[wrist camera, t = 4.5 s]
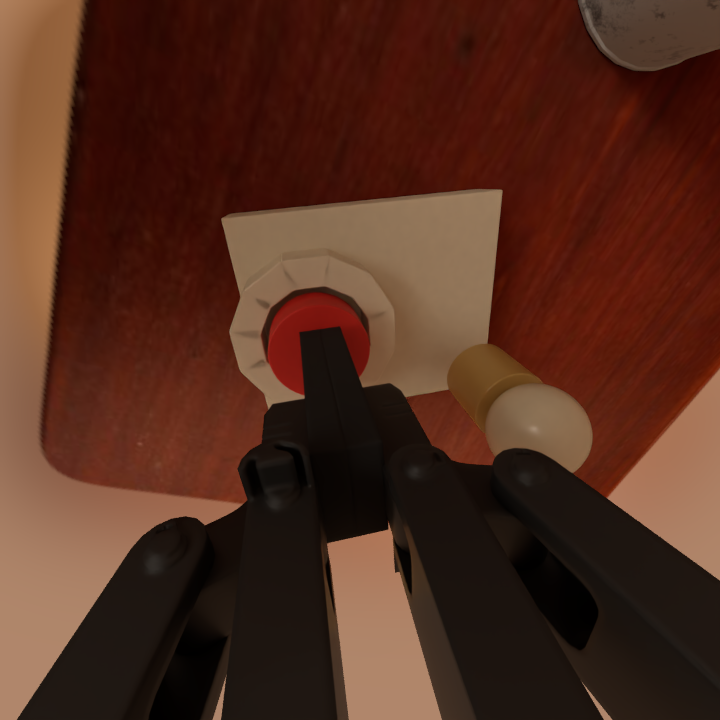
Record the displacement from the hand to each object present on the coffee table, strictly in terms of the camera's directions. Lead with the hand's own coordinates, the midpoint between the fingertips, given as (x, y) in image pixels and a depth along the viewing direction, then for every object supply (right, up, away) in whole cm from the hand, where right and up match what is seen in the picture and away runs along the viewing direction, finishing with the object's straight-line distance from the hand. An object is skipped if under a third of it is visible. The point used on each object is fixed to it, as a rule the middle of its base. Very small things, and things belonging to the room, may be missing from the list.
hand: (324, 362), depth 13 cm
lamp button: (-1, +1, +2) cm, 2 cm away
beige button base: (+2, +3, +5) cm, 7 cm away
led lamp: (+7, -1, +4) cm, 8 cm away
